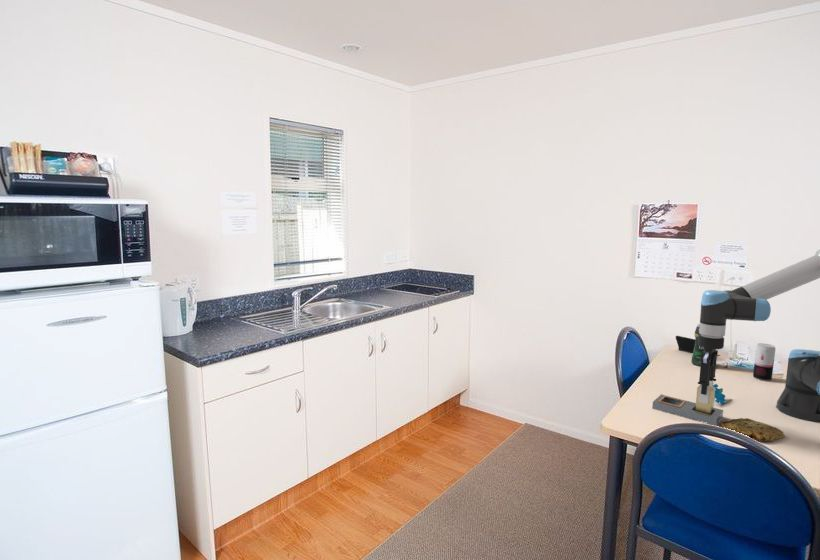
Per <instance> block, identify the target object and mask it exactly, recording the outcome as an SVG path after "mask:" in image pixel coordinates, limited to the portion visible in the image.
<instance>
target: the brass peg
mask: <svg viewBox="0 0 820 560" xmlns="http://www.w3.org/2000/svg"><path fill="white" fill-rule="evenodd" d="M699 393H700V384H698V386H697V388H696V397H695V398H696V399H695V403H696V408H695V411H698V412H701V413H705V414H709V415H712V414H713V408H715V407H714V406H715V399H714V397H715V387H711V386H710V390H709V400H708V404H705V403H701V402H699Z"/></svg>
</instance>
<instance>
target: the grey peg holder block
mask: <svg viewBox="0 0 820 560" xmlns="http://www.w3.org/2000/svg"><path fill="white" fill-rule="evenodd" d="M695 408H696V402H693V401H690V400H689V401H688V400H685V399H681V398H677V397H673V396H670V395H665V394H660V395H659V396H658V397H656V398H655V399H654V400H653V401H652V409H654V410H657V411H660V410H661V411H662V412H664V411H665V412H664V413H668V412H669V413H668V414H671V413H673V414H672V415H675V414H677V415H676V416H679V415H680V416H679V417H682V416H683V418H686V419H690V420H693V421H694V420H695V421H697V422H701V421H703V422H702V423H704V422H707V423H706V424H708V425H713V426H715V425H718V424H719V423H720V421H721V420H722V419H723V417H724V409H720V408H716V407H713V414H712V415H709V414H705V413H701V412H698V411H695ZM661 411H660V412H661ZM698 420H699V421H698Z"/></svg>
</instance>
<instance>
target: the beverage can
mask: <svg viewBox="0 0 820 560" xmlns="http://www.w3.org/2000/svg"><path fill="white" fill-rule="evenodd" d="M755 348H756V349H755V357H754V364H753V373H752V377H753V378H754V379H755V378H756V379H755V380H758V379H759V380H758V381H763V382H769V381H772V380H773V372H774V364H775V363H774V362H775V356H776V354H775V353H776V349H777V348H776V346H775V345H773V344H769V343H761V342H760V343H757V344H756V347H755Z"/></svg>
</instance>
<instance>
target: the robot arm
mask: <svg viewBox="0 0 820 560" xmlns="http://www.w3.org/2000/svg"><path fill="white" fill-rule="evenodd" d="M818 279H820V249H819V250H818V249H817V250H816V252H815V253H814V255H812V256H809V257H808V258H806V259H802V260H801V261H798V262H796V263H794V264H792V265H789V266H787V267H784V268H782V269H780V270H777V271H774V272H772V273H770V274H768V275H765V276H763V277H760V278H758V279H756V280H754V281H752V282H749V283H747V284H745V285H742V286H739V287H736V288H734V289H733V290H727V289H726V290H717V289H716V290H715V289H710V290H709V289H708V290H704V291H703V292H702V296H701V301H700V315H699V324H697V325H696V327H697V326H698V327H700V328H699V333H700V335H698V345H699V346H701V347H703V348H704V352H702V356H701V366H699V367H700V370H699V380H698V382H697V384H698V385H700V393H699V402H701V403H705V404H708V400H709V390H710V386H711V387H713V385H714V382H716V381H717V378H716V370H717V359H718V355H717V353H719V351H718V350H723V348H724V346H725V345H724V344H725V336H726V329H727V320H731V321H734V320H735V321H751V322H765V321H767V320H768V319H769V318H770V316H771V311H772V309H771V304H770V302H769V301H768V300H770V299H772V298H774V297H777V296H779V295H781V294H784V293H786V292H789V291H792V290H794V289H796V288H799V287H801V286H803V285H804V286H805V285H806V284H809V283H811V282H813V281H816V280H818ZM787 359H788V360H787V368H786V369H787V370H786V376H785V377H786V378H785V386H784V389H783V391H782V393H781V394H780V395H779V397H778V399H777V400H776V407H775V408H776V409H777V410H778V411H779V412H781V413H782V414H786V415H787V416H791V417H793V418H798V419H801V420H805V421H811V422H820V350H813V349H812V350H811V349H803V348H802V349H799V348H795V349H792V350H790V352H789V355H788V358H787Z"/></svg>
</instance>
